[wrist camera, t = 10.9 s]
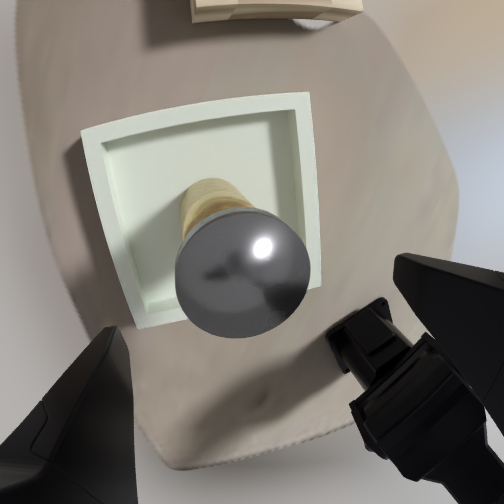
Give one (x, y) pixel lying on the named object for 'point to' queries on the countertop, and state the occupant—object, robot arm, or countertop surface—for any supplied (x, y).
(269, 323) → the spice jar
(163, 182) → the tray
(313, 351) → the countertop surface
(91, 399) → the robot arm
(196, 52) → the countertop surface
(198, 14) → the wooden square frame
